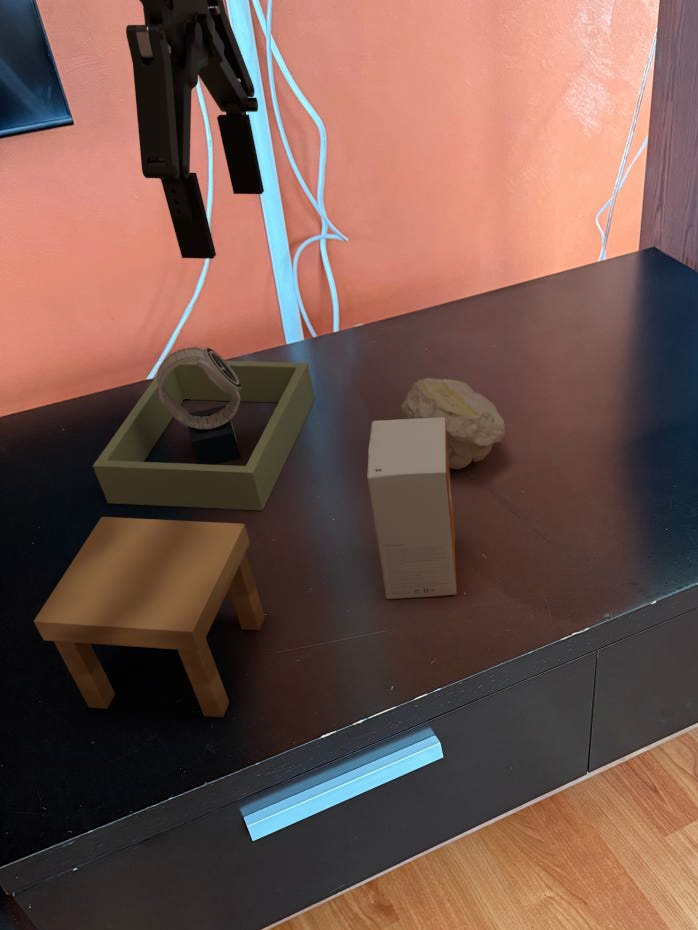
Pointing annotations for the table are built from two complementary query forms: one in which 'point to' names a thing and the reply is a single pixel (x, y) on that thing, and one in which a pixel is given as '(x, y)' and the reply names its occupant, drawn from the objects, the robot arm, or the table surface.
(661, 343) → the table surface
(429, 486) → the small box
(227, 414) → the watch
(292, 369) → the olive green rectangular frame
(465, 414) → the beige rock
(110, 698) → the stool
